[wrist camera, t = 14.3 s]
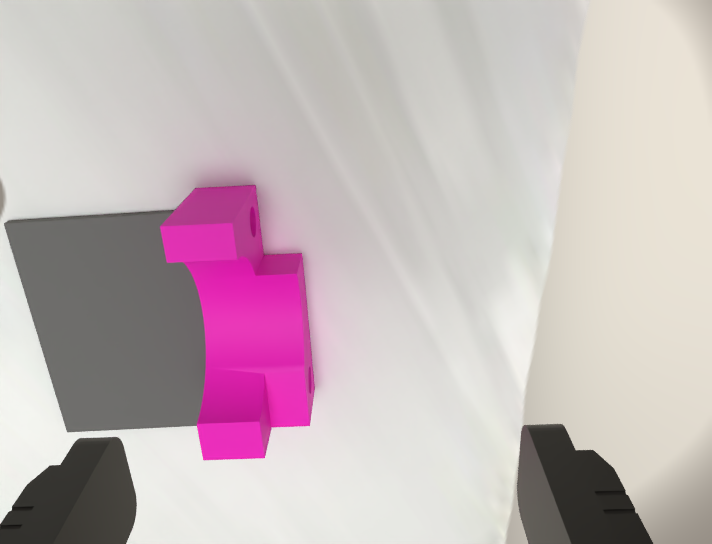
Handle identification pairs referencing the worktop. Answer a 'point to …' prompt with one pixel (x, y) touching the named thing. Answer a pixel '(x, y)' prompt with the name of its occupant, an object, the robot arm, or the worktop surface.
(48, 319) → the rubber mat
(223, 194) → the magenta pipe clamp
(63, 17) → the worktop surface
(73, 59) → the worktop surface
